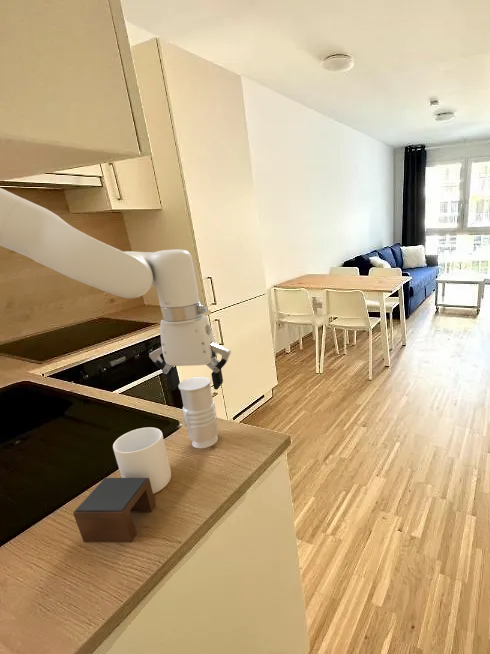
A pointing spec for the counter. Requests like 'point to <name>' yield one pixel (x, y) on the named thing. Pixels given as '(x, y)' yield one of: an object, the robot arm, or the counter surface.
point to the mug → (143, 457)
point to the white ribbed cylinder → (199, 411)
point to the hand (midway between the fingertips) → (196, 387)
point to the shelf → (114, 509)
